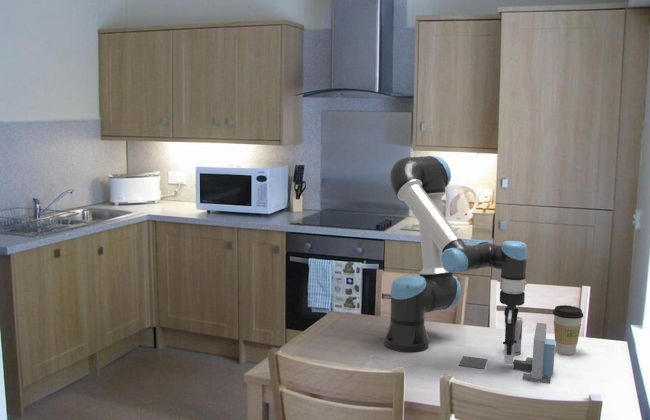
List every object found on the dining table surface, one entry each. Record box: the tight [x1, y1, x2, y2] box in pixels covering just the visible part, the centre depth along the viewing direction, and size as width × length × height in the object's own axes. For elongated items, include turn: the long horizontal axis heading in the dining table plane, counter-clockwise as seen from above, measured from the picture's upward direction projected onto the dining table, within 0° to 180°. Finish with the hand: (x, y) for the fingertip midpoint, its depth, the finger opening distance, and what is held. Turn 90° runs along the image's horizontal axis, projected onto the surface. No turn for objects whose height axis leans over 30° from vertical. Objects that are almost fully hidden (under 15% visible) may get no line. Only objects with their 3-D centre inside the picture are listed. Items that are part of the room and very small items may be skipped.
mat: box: [458, 355, 489, 370], centre depth 231 cm, size 8×9×1 cm
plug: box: [512, 337, 556, 377], centre depth 224 cm, size 12×6×10 cm, turn 71°
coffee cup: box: [552, 304, 584, 356], centre depth 241 cm, size 10×10×15 cm
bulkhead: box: [522, 322, 552, 384], centre depth 223 cm, size 8×18×13 cm, turn 161°
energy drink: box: [504, 316, 524, 356], centre depth 240 cm, size 5×5×12 cm
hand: (508, 363), depth 227 cm, fingers closed
